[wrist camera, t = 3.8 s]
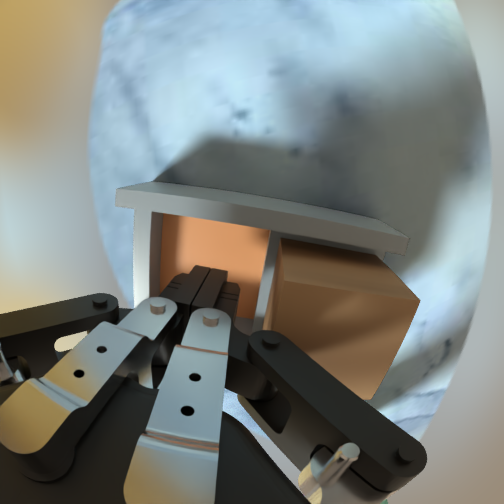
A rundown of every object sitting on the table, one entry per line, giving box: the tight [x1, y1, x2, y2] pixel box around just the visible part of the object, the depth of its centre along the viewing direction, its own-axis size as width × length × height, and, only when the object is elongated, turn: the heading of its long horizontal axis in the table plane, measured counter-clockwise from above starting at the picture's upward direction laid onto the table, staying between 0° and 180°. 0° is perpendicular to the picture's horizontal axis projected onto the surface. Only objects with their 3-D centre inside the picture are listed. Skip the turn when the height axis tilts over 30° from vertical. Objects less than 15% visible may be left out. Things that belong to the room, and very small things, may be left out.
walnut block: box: [262, 238, 420, 400], centre depth 11 cm, size 5×5×5 cm
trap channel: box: [115, 181, 410, 336], centre depth 14 cm, size 8×13×4 cm, turn 81°
